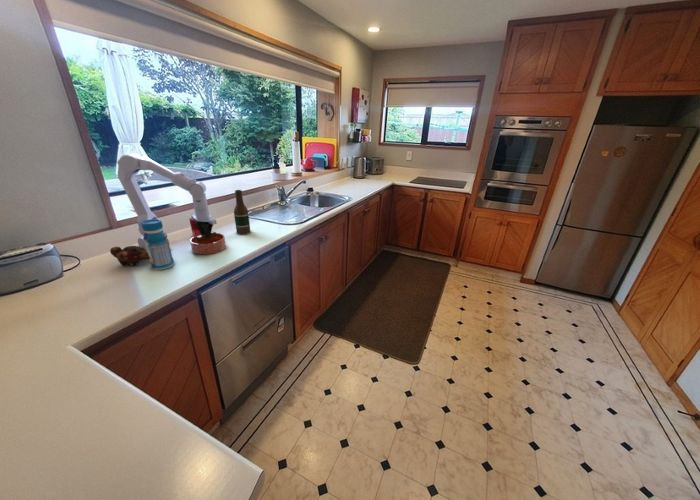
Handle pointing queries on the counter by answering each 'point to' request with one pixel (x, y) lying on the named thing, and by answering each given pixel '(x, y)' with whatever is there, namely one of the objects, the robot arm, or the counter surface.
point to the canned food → (194, 227)
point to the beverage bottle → (157, 244)
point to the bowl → (208, 244)
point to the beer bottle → (241, 215)
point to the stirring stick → (204, 238)
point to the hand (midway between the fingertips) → (206, 236)
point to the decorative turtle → (130, 254)
